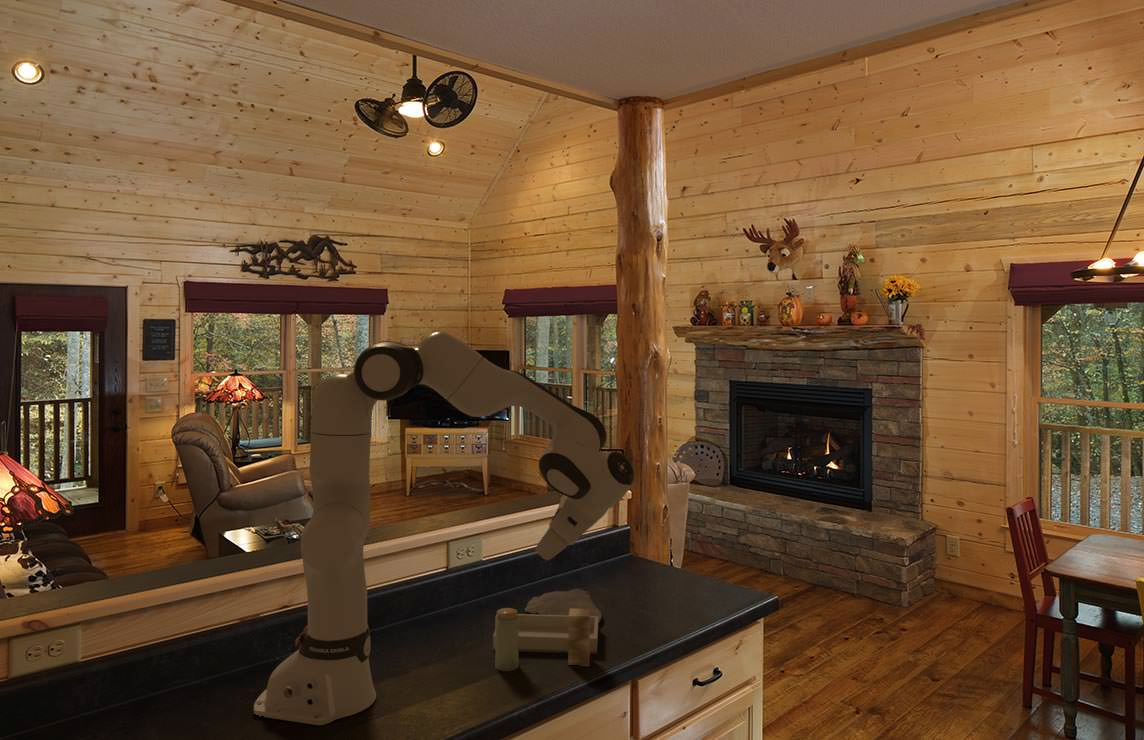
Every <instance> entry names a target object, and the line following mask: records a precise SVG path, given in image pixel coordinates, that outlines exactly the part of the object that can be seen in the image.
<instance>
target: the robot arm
mask: <svg viewBox="0 0 1144 740" xmlns="http://www.w3.org/2000/svg"><path fill="white" fill-rule="evenodd" d="M355 360H356V361H355V363H354V368H353V371H352V372H350V373H337V374H332V375H330V376H328V377H326V378H324V379H323V380H322V381H320V383H319V384H318V386H317V390H316V394H315V398H314V402H313V403H314V404H313V409H312V416H311V427H310V444H309V445H310V450H309V476H310V480H311V481H310V482H311V490H312V503H313V504H312V514H311V518H309V520H308V521H307V523H306V524H305V525H304V527H303V528H302V529H303V530H302V532H301V538H300V553H301V558H302V566H303V573H304V574H303V575H304V579H305V585H306V593H307V594H306V595H307V596H306V597H307V625H306V626H304V628H303V631H302V632H301V633H300V634H299V635H298V637H297V638H296V639H295V641H294V642H295V644H294V647H296V648H297V647H298V649H297V650H296V651H295V652H293V653H292V654H290V655H289V656H288V657H287V658H285V659H284V660H283V661H282V662H281V663H279V665H277V667H276V668H275V669H274V670H273V671H272V673H271V674H270V677H269V679H268V681H267V685H266V689H265V690H264V691H262V693H261V694H260V695H259V696H258V697H257V699H256V700H255V702H254V704H253V709H252V710H253V711H254V713H253V715H254V714H256V715H259V716H258V717H261V716H264V717H263V718H267V719H276V720H282V721H288V722H294V723H300V724H308V725H313V726H314V725H315V726H324V725H327V724H329V723H332V722H334V721H335V720H338V719H341V718H346V717H349V716H352V715H356V714H359V713H360V712H363V711H365V710H366V709H367V708H369V707H370V706H372V705H373V704H374V702H375V700H376V698H377V693H376V689H375V687H374V684H373V679H372V673H371V667H370V658H369V657H370V652H371V636H370V635H371V634H370V633H371V632H370V625H369V624H368V586H367V581H366V573H365V572H366V571H365V560H364V558H365V557H364V547H365V543H366V542H365V540H366V538H367V536H368V534H369V532H370V530H371V529H370V528H371V483H370V462H371V461H370V459H371V437H372V436H371V435H372V417H373V415H372V414H373V411H374V408H375V404H376V403H377V402H378V401H383V402H384V401H391V400H394V399H397V398H399V397H401V396H403V395H405V394H406V393H407V392H408V391H409V390H412V389H413V388H414V387H416V386H418V385H425V386H427V387H429V388H431V389H433V390H434V391H435V392H437V393H438V394H439V395H440V396H441V397H443V398H444V399H445V400H446V401H447V402H448V403H450V404H451V405H452V406H453V407H455V408H456V409H457V410H458V411H460V412H462V413H463V414H465V415H468V416H469V417H476V418H478V417H479V418H481V417H482V418H483V417H488V416H492V415H493V414H496V413H497V412H500V411H502V410H505V409H506V408H509V407H520V408H522V409H525V410H527V411H528V412H530V413H532V414H533V415H535V416H536V417H538V418H539V419H541V420H542V421H544V422H546V423H547V424H549V425H550V426H552V427H553V428H554V431H555V433H554V436H553V437H552V438H551V441H550V442H549V443H548V445H547V447H546V448H545V449H544V451H543V454H542V455H541V457H540V459H539V461H538V470H539V472H540V476H541V477H542V479H543V480H544V482H545V484H547V485H549V487H550V488H552V489H553V490H555V491H556V492H558V493H559V494H561V495H562V496H561V497H560V499H559V504H558V506H557V510H556V511H555V513H554V514H553V517H552V518H551V521H550V522H549V523H548V526H549V527H548V529H547V530H546V531H545V532H544V534H543V536H542V537H541V538H540V540H539V541H538V543H537V544H536V546H535V547H534V548H535V552H536V554H538V556H540V557H541V558H542V559H544V560H546V561H550V560H551V559H553V558H554V557H556V556H557V555H558V554H559V553H561V552H562V551H563V550H565V549H566V548H567V547H568V546H569V545H571V546H573V545H574V544H575V543H577V542H578V541H579V539H580V538H581V537H582V536H583V535H584V533H586V532H587V531H589V529H591V528H592V527H593V526H594V525H596V523H598V521H600V519H601V518H603V517H604V516H605V515H606V514H607V512H608V510H609V509H611V508H613V507H614V506H616V505H617V504H618V503H619V502H620V501H621V500H622V499H623V498H624V497H625V496H626V494H627V493H628V492H629V491H630V489H631V488H632V486H633V483H634V479H635V473H634V467H633V464H632V462H631V461H630V459H628V457H627V456H626V455H625V454H623V453H622V452H620V451H616V450H615V451H614V450H613V451H609V452H604V451H601V450H602V449H603V447H604V446H605V444H606V443H607V442H606V441H607V431H606V430H607V429H606V428H605V426H604V424H603V423H602V421H601V420H600V418H598V417H597V416H596V415H595V414H593V413H591V412H589V411H586V410H584V409H582V408H579V407H578V406H575V405H574V404H572V403H570V402H569V401H567V400H566V399H563V398H562V397H561V396H559V395H557V394H556V393H555V392H553V391H551V390H550V389H548V388H546V387H545V386H544V385H542V384H540V383H539V382H537V381H536V380H534V379H532V378H530V377H529V376H527V375H525V374H523V373H522V372H519V371H517V370H513V369H510V370H507V369H504V368H502V367H500V366H498V365H496V364H495V363H492V362H491V361H489V359H487V358H486V357H483V355H481V354H480V353H479V352H478V351H476V350H475V349H474V348H473V347H471V346H470V345H469V344H466V343H465V342H463V340H461V339H459V338H457V337H455V336H453V335H452V334H450V333H447V332H446V331H435V332H433V333H430V334H428V335H427V336H425V337H424V338H423V339H422V340H421V341H420V342H419V343H418V344H416V345H415V346H413V347H411V346H407V345H405V344H404V343H401V342H397V341H394V340H393V341H392V340H382V341H379V342H376V343H374V344H372V345H369V346H367V347H366V348H365V349H364V350H362V351H361V352H360V354H359V355H358V356H357V359H355ZM253 711H252V712H253ZM256 715H255V716H256Z"/></svg>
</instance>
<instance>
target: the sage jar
mask: <svg viewBox="0 0 1144 740" xmlns="http://www.w3.org/2000/svg"><path fill="white" fill-rule="evenodd" d="M518 614H519V613H518V610H517V609H515V608H511V607H504V608H500V609H497V610H496V615H495V618H494V619H495V622H494V623H495V626H494V627H495V629H494V632H495V652H494V653H495V654H494V655H495V657H494V660H495V661H494V666H495V669H496V670H497V671H501V672H513V671H515V670H517V669H518V668H519V653H520V651H519V615H518Z"/></svg>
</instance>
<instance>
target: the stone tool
mask: <svg viewBox="0 0 1144 740" xmlns="http://www.w3.org/2000/svg"><path fill="white" fill-rule="evenodd" d="M590 595H591V593H590V591H586V590H582V589H581V588H572V589H570V590H565V591H564V590H563V591H557V590H556V591H554V590H553V591H551V592H545V593H543V594H542V595H540V596H533V597H532V599H530V600H529V601H528V603H526V607H525V608H524V612H525V613H529V614H536V615H569V611H570V608H572V609H590V616H598V624H599V623H600V622H601V619H602V611H601V610H600V608H599V609H598V607H597V606H596V604H595V603H594V602H593V600H592V598H591V596H590Z"/></svg>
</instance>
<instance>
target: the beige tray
mask: <svg viewBox="0 0 1144 740" xmlns="http://www.w3.org/2000/svg"><path fill="white" fill-rule="evenodd" d="M517 614H518V615H519V653H520V652H523V653H524V652H525V653H526V652H527V653H528V652H529V653H551V654H552V653H554V654H556V653H558V654H568V632H569V615H540V614H532V613H529V614H527V613H517ZM598 639H599V623H598V616H590V655H591V654H593V655H597V654H598V642H599V641H598ZM492 651H495V631H494V632H493V635H492Z"/></svg>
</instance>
